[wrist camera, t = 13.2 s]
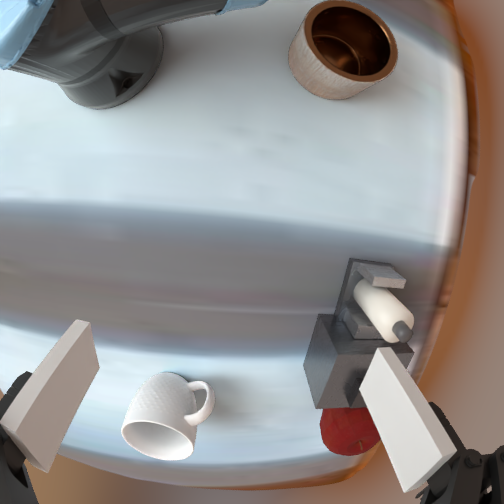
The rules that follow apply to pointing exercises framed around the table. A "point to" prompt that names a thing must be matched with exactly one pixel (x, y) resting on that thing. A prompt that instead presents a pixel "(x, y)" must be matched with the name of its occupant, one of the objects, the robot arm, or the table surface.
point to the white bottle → (385, 312)
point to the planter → (341, 50)
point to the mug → (166, 416)
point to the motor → (349, 341)
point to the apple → (348, 430)
